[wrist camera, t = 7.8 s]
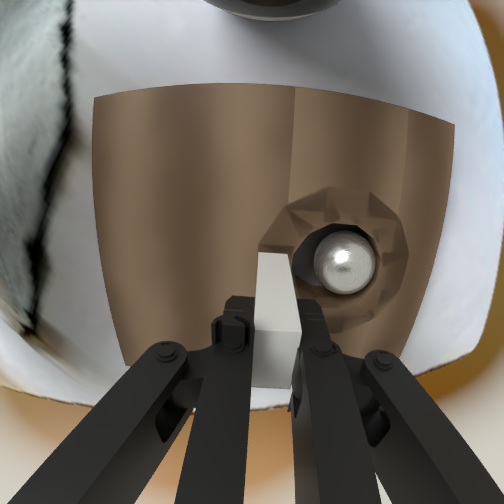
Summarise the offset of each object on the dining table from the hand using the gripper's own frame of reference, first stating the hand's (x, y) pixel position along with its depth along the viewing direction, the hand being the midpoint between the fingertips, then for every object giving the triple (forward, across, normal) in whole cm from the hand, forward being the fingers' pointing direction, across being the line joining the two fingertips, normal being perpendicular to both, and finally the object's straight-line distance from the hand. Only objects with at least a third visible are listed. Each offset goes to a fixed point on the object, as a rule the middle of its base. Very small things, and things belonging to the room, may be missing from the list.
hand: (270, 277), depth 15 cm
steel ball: (+2, +5, 0) cm, 5 cm away
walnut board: (+4, 0, 0) cm, 4 cm away
